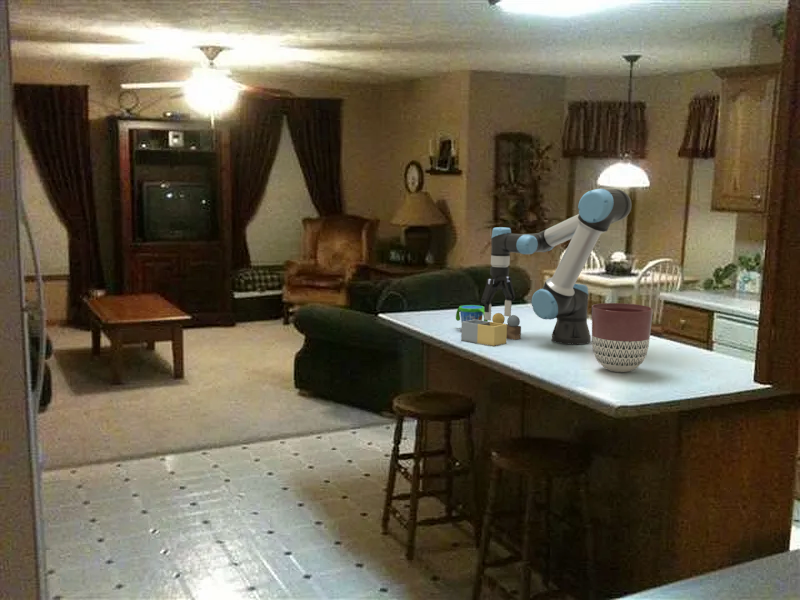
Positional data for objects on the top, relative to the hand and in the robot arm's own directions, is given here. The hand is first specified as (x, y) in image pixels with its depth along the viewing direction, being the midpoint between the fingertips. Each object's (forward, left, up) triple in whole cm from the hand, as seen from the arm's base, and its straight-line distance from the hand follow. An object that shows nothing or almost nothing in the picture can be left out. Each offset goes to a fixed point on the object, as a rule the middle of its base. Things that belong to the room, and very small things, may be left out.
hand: (497, 318), depth 335 cm
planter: (-66, +22, -8) cm, 70 cm away
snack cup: (+15, -2, -8) cm, 17 cm away
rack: (-4, 0, -7) cm, 8 cm away
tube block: (-4, +15, -7) cm, 17 cm away
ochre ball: (0, 0, -3) cm, 3 cm away
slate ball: (-8, 0, -3) cm, 8 cm away
